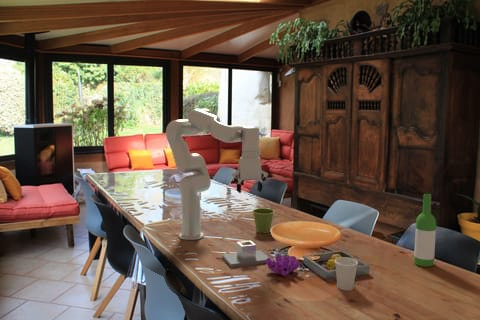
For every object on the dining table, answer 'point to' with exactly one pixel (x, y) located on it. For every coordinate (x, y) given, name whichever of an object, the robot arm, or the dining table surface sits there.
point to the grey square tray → (331, 274)
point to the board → (237, 262)
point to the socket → (246, 250)
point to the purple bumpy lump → (283, 264)
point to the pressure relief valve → (332, 261)
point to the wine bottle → (425, 235)
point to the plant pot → (263, 219)
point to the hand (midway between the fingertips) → (249, 191)
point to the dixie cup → (345, 272)
